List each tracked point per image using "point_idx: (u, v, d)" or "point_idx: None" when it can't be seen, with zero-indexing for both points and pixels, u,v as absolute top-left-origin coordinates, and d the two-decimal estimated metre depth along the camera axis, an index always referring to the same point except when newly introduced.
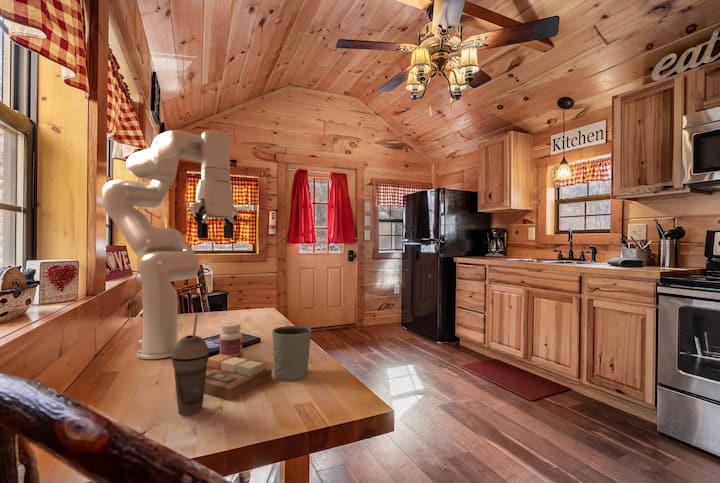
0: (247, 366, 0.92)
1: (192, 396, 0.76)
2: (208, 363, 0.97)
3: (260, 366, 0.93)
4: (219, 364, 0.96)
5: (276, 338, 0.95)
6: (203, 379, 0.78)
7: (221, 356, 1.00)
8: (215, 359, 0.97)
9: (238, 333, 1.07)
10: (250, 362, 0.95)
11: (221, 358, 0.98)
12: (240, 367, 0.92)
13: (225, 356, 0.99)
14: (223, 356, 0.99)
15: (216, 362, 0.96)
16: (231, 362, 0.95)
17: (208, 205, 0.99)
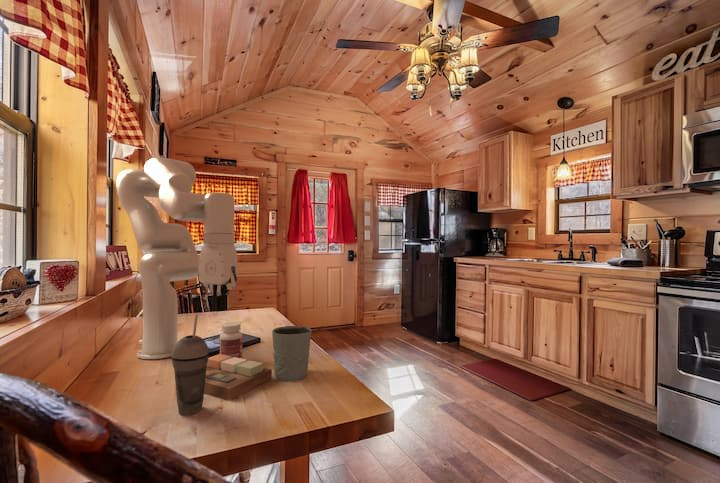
0: (247, 366, 0.92)
1: (192, 396, 0.76)
2: (208, 363, 0.97)
3: (260, 366, 0.93)
4: (219, 364, 0.96)
5: (276, 338, 0.95)
6: (203, 379, 0.78)
7: (221, 356, 1.00)
8: (215, 359, 0.97)
9: (238, 333, 1.07)
10: (250, 362, 0.95)
11: (221, 358, 0.98)
12: (240, 367, 0.92)
13: (225, 356, 0.99)
14: (223, 356, 0.99)
15: (216, 362, 0.96)
16: (231, 362, 0.95)
17: (237, 272, 0.98)
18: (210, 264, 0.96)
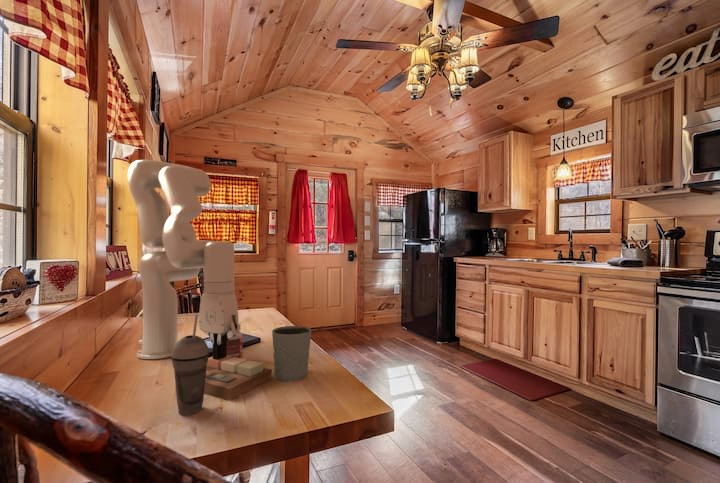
0: (247, 366, 0.92)
1: (192, 396, 0.76)
2: (208, 363, 0.97)
3: (260, 366, 0.93)
4: (219, 364, 0.96)
5: (276, 338, 0.95)
6: (203, 379, 0.78)
7: None
8: (215, 359, 0.97)
9: (238, 333, 1.07)
10: (250, 362, 0.95)
11: None
12: (240, 367, 0.92)
13: None
14: None
15: (216, 362, 0.96)
16: (231, 362, 0.95)
17: None
18: (210, 313, 0.96)
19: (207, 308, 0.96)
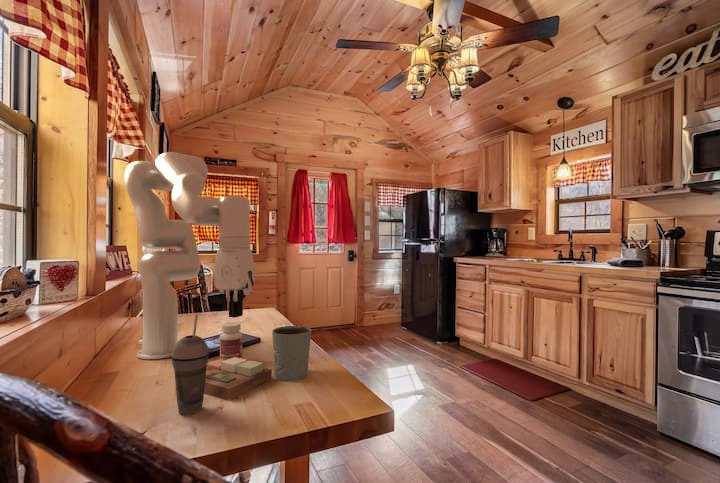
0: (247, 366, 0.92)
1: (192, 396, 0.76)
2: None
3: (260, 366, 0.93)
4: None
5: (276, 338, 0.95)
6: (203, 379, 0.78)
7: (221, 361, 1.00)
8: (215, 364, 0.97)
9: (238, 333, 1.07)
10: (250, 362, 0.95)
11: None
12: (240, 367, 0.92)
13: None
14: None
15: (216, 367, 0.96)
16: (231, 362, 0.95)
17: None
18: (226, 269, 0.93)
19: (223, 264, 0.93)
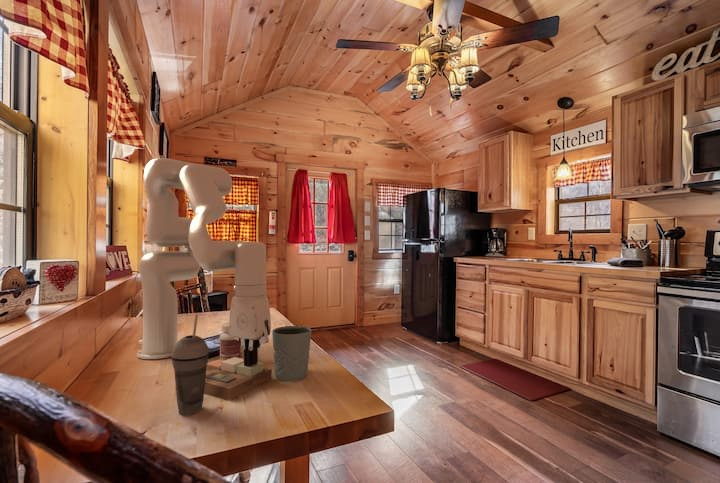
0: (247, 366, 0.92)
1: (192, 396, 0.76)
2: None
3: (260, 366, 0.93)
4: None
5: (276, 338, 0.95)
6: (203, 379, 0.78)
7: (221, 361, 1.00)
8: (215, 364, 0.97)
9: None
10: None
11: None
12: (240, 367, 0.92)
13: None
14: None
15: (216, 367, 0.96)
16: (231, 362, 0.95)
17: None
18: (242, 318, 0.91)
19: (238, 312, 0.91)
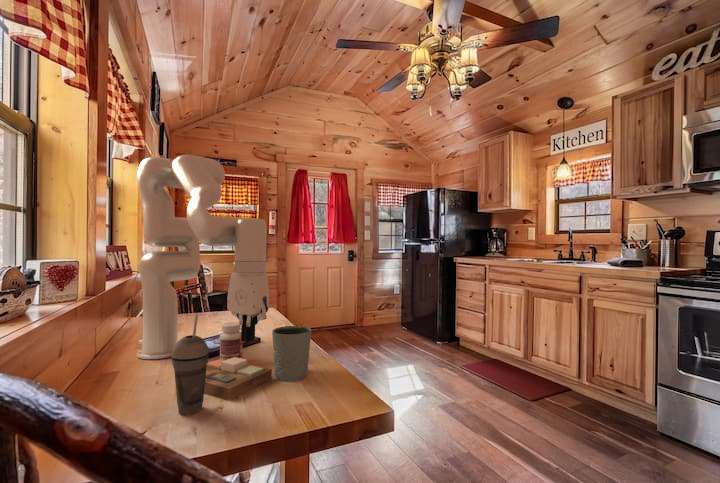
0: (247, 371, 0.92)
1: (192, 396, 0.76)
2: None
3: (260, 371, 0.93)
4: None
5: (276, 338, 0.95)
6: (203, 379, 0.78)
7: (221, 361, 1.00)
8: (215, 364, 0.97)
9: (238, 333, 1.07)
10: (250, 367, 0.95)
11: None
12: (240, 372, 0.92)
13: None
14: None
15: (216, 367, 0.96)
16: (231, 362, 0.95)
17: (268, 302, 0.93)
18: (240, 293, 0.91)
19: (237, 288, 0.91)
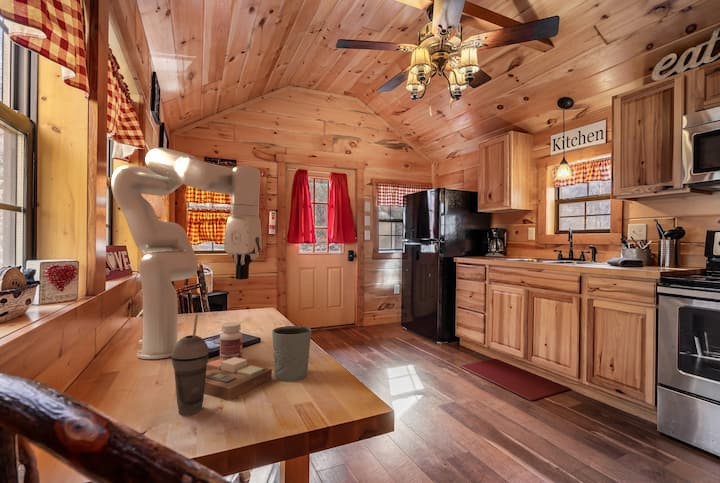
0: (247, 371, 0.92)
1: (192, 396, 0.76)
2: None
3: (260, 371, 0.93)
4: None
5: (276, 338, 0.95)
6: (203, 379, 0.78)
7: (221, 361, 1.00)
8: (215, 364, 0.97)
9: (238, 333, 1.07)
10: (250, 367, 0.95)
11: None
12: (240, 372, 0.92)
13: None
14: None
15: (216, 367, 0.96)
16: (231, 362, 0.95)
17: None
18: (235, 234, 1.00)
19: (232, 230, 1.01)
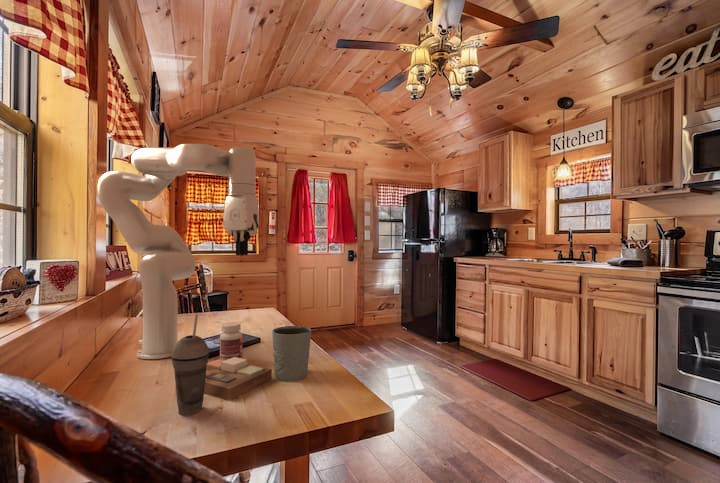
0: (247, 371, 0.92)
1: (192, 396, 0.76)
2: None
3: (260, 371, 0.93)
4: None
5: (276, 338, 0.95)
6: (203, 379, 0.78)
7: (221, 361, 1.00)
8: (215, 364, 0.97)
9: (238, 333, 1.07)
10: (250, 367, 0.95)
11: None
12: (240, 372, 0.92)
13: None
14: None
15: (216, 367, 0.96)
16: (231, 362, 0.95)
17: (258, 220, 1.07)
18: (234, 212, 1.05)
19: (231, 208, 1.06)
